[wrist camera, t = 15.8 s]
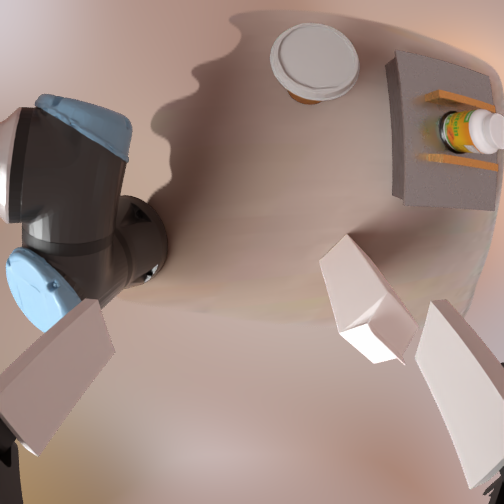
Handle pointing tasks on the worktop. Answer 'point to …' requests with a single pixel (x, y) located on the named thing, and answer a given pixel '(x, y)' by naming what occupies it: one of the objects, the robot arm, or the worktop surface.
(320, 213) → the worktop surface
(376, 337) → the milk
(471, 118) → the supplement bottle
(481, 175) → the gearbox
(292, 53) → the disposable coffee cup
